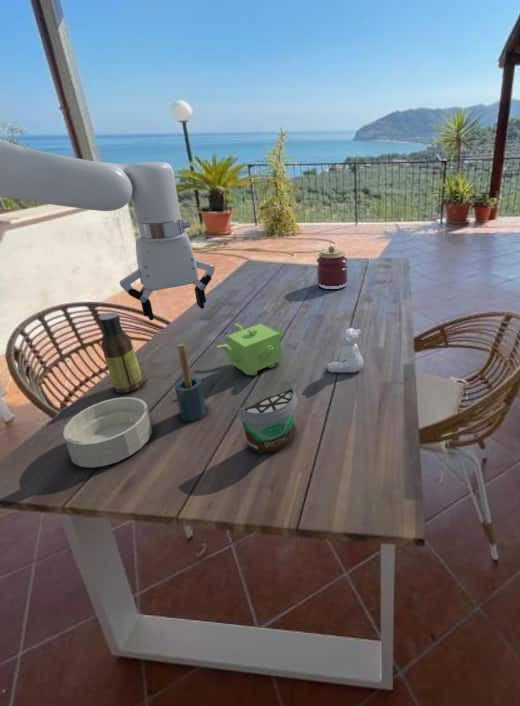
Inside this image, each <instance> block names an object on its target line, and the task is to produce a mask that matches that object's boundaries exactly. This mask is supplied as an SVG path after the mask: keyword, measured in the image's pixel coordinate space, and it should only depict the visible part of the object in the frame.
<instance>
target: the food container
mask: <svg viewBox="0 0 520 706" xmlns="http://www.w3.org/2000/svg"><path fill="white" fill-rule="evenodd" d="M297 405H298V396H297V394H296V391H295V388H293V386H292V385H291V384H290V385H289V389H287V390H285V391H284V392H281V393H278V394H275V395H272V396H267V397H265V398H263V399H261V400H260V401H258V402H256V403H253V405H250V406H248V407H246V408H242V407H241V406H238V409H237V414H236V415H237V418H238V419H239V420H241V423H242V427H243V430H244V434H245V437H246V441H247V446H248V447H249V449H251V450H252V451H254V452H256V453H261V454H262V453H263V454H269V453H270V454H271V453H275V452H278V451H281V450H283V449H284V448H287V446H288V445H290V443H291V441H292V439H293V435H294V415H295V413H294V412H295V411H294V410H295V409H296V407H297Z"/></svg>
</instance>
